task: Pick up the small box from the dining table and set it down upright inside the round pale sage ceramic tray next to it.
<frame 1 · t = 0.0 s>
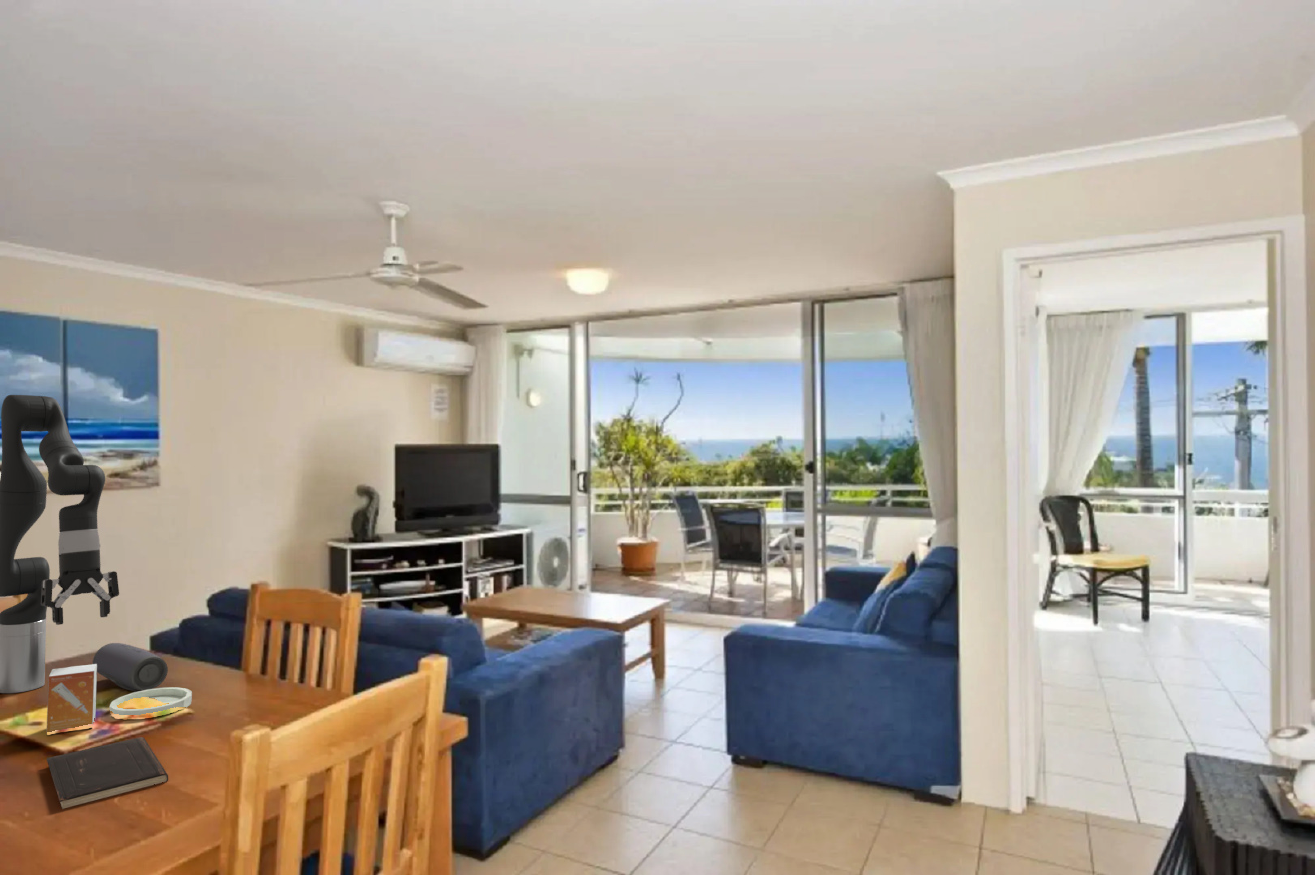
hand: (82, 620, 169), 22 cm above the table, tool pointing down, fingers open, 8 cm apart
round tray: (151, 707, 176), on the table
small box: (71, 729, 163), on the table
bluetooth speaker: (129, 687, 191), on the table
hardcover book: (106, 778, 141), on the table
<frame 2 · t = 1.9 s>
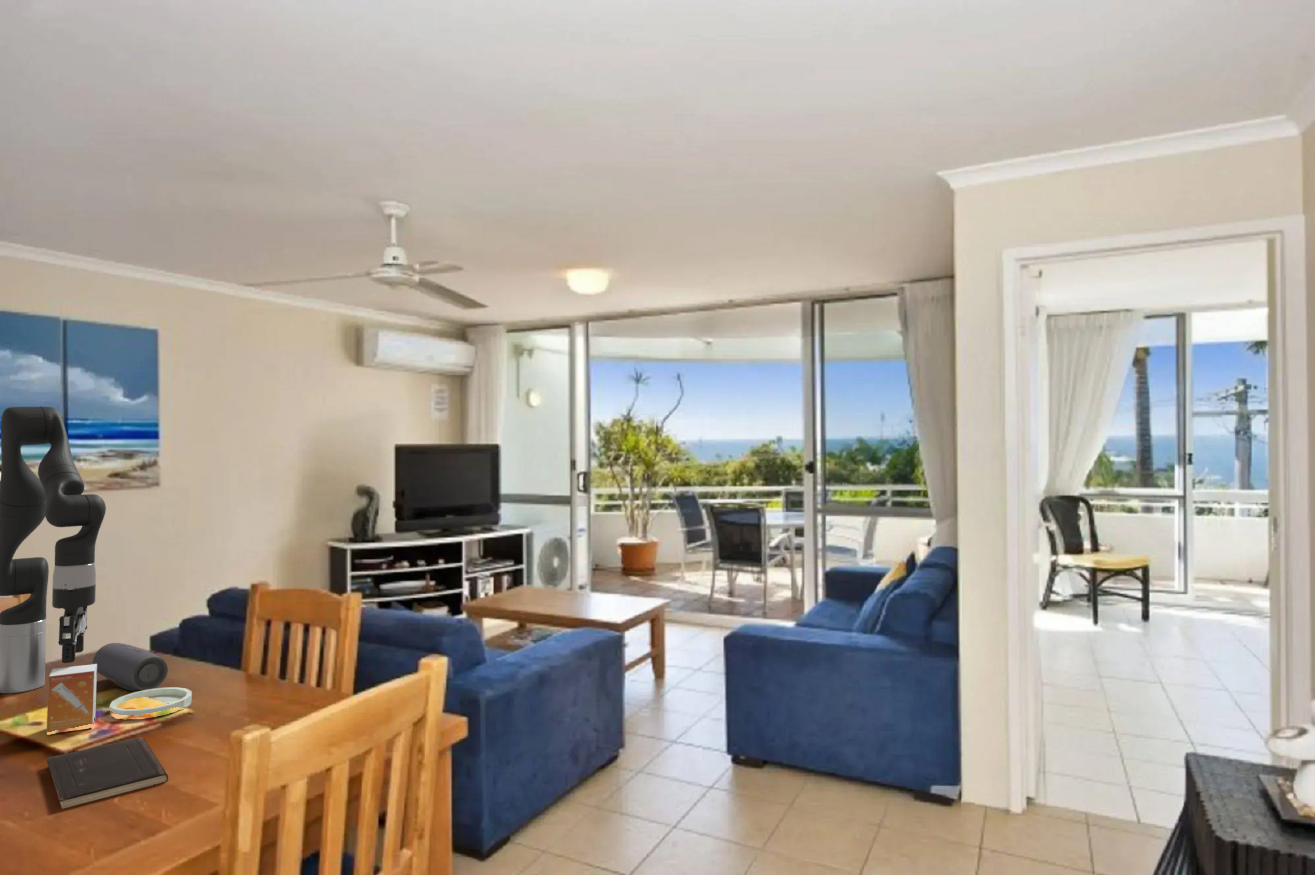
hand: (72, 657, 163), 16 cm above the table, tool pointing down, fingers open, 8 cm apart
nothing on the table moved.
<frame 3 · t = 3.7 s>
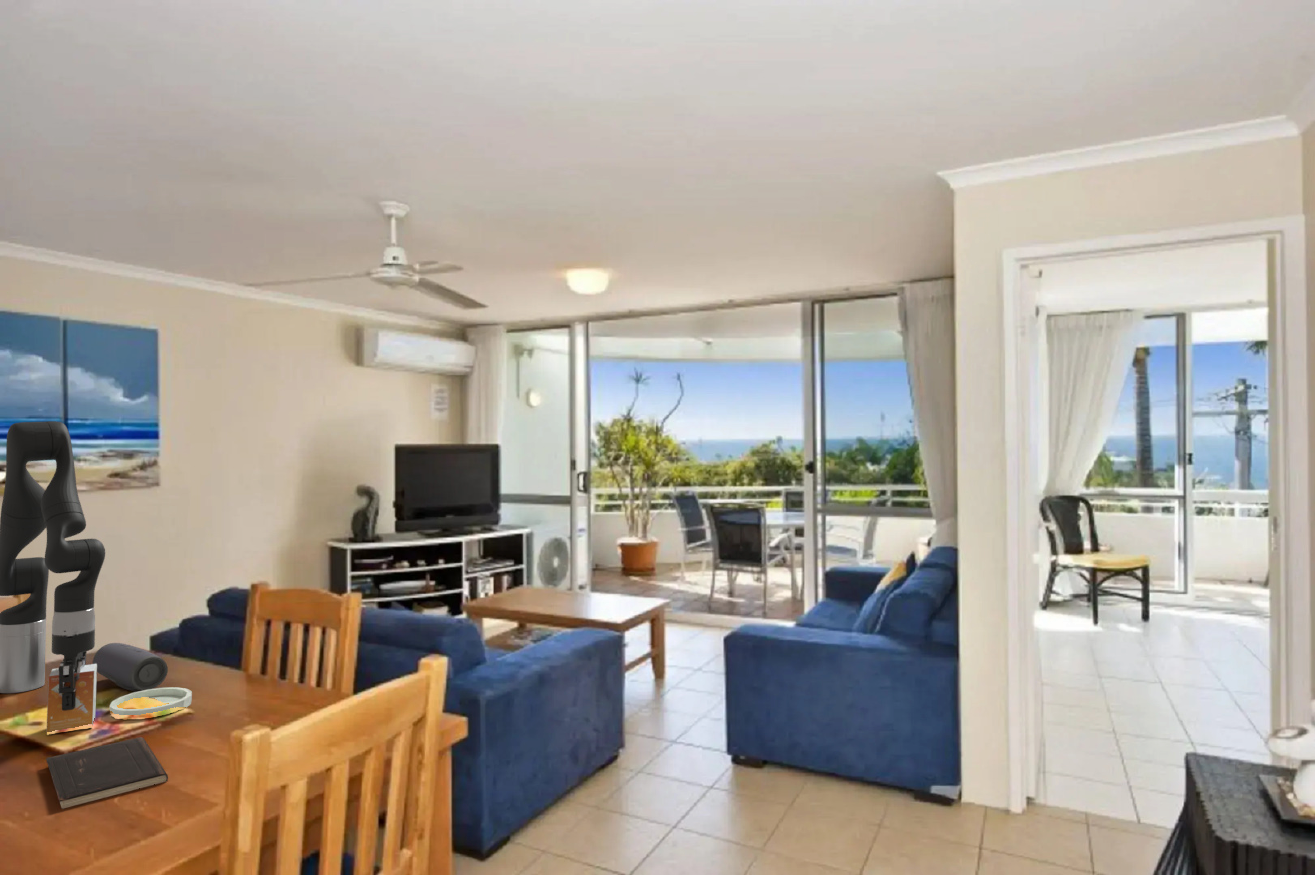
hand: (72, 704, 163), 5 cm above the table, tool pointing down, fingers closed on small box, 6 cm apart
small box: (71, 729, 163), on the table, touching gripper
everything else where it was.
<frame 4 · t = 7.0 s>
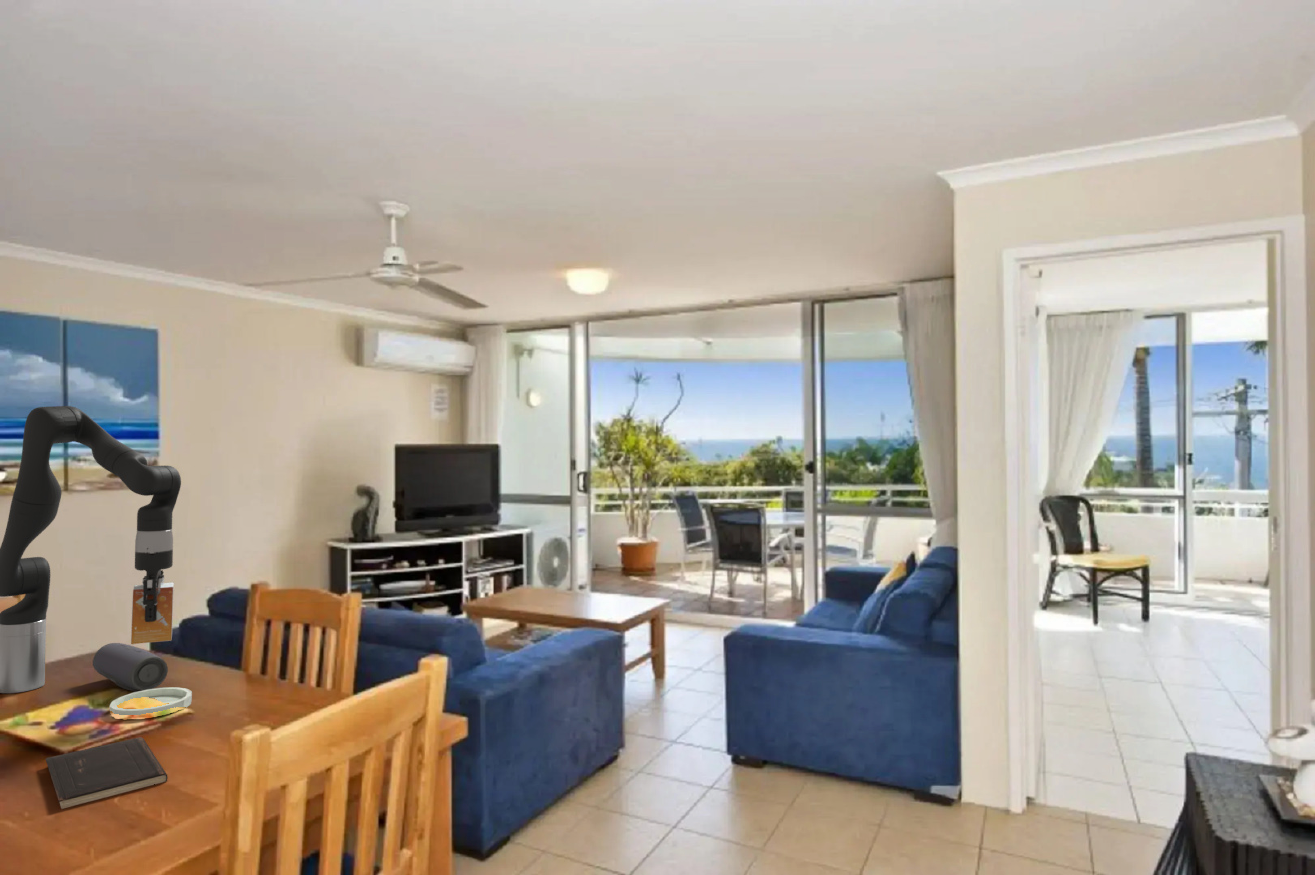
hand: (152, 618, 176), 22 cm above the table, tool pointing down, fingers closed on small box, 6 cm apart
small box: (152, 640, 176), point 16 cm above the table, touching gripper
everything else where it was.
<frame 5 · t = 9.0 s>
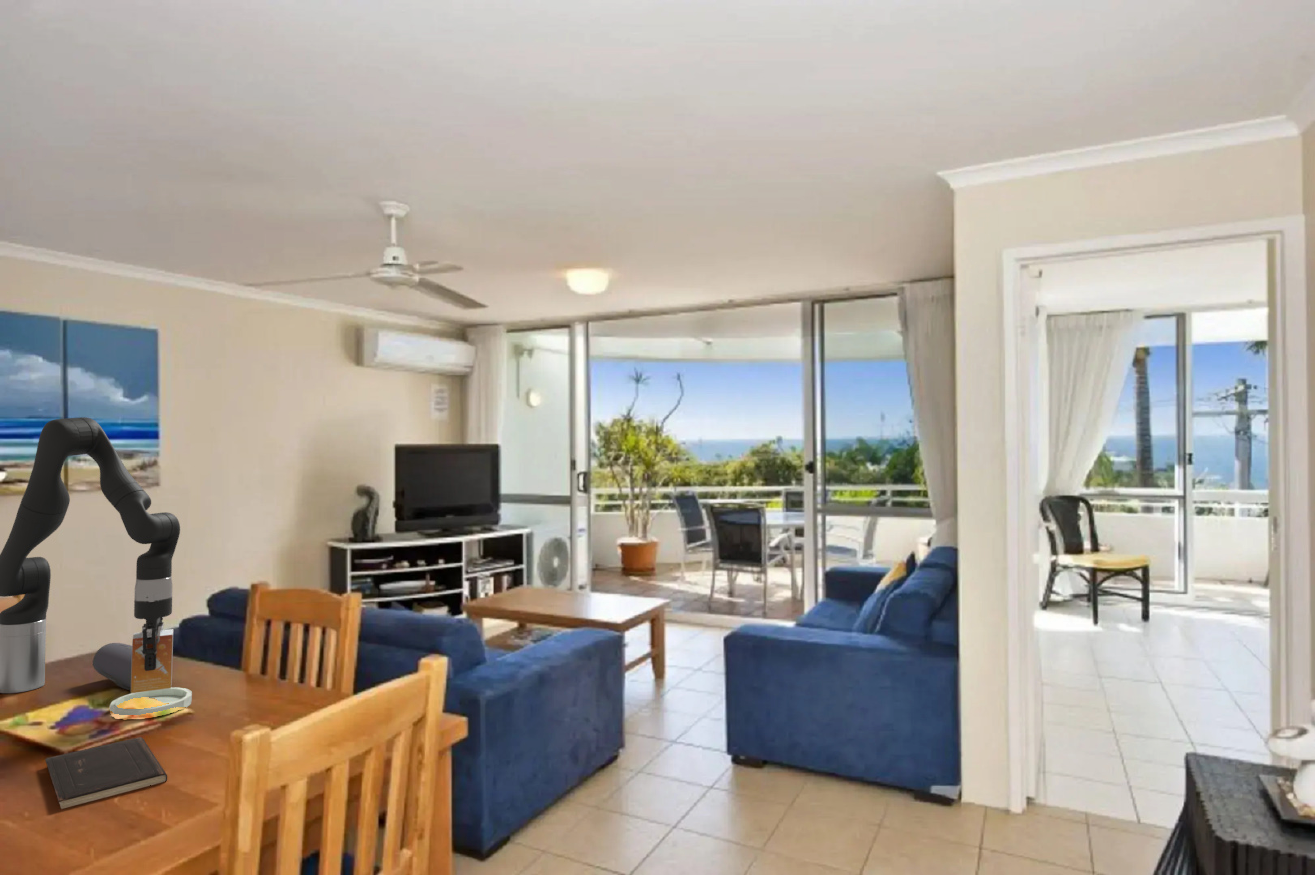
hand: (152, 665, 176), 10 cm above the table, tool pointing down, fingers closed on small box, 6 cm apart
small box: (151, 688, 176), point 5 cm above the table, touching gripper
everything else where it was.
when the fingers open (7 cm above the table, at t = 10.7 s): small box drops 1 cm, resting on round tray.
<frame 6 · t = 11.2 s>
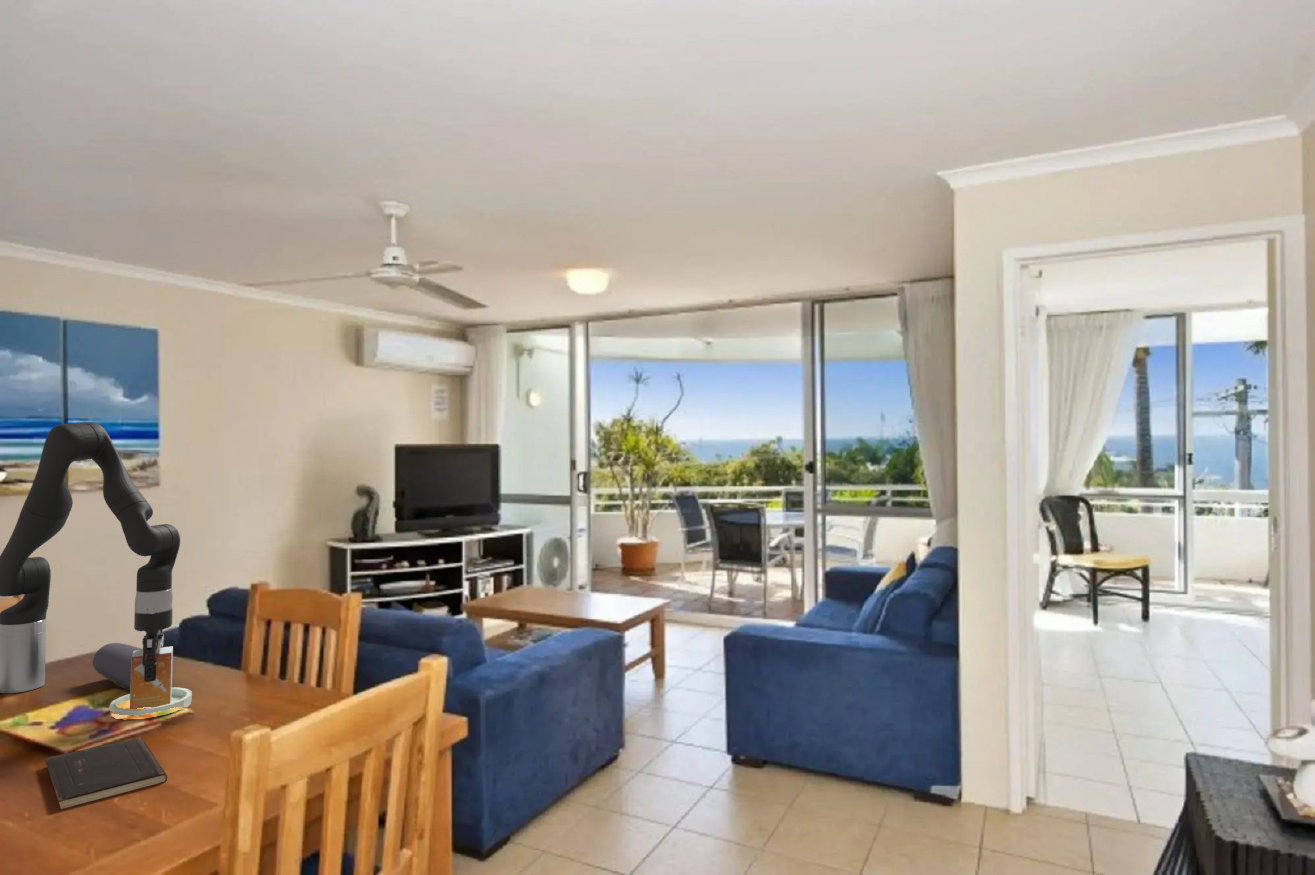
hand: (152, 676, 176), 8 cm above the table, tool pointing down, fingers open, 8 cm apart
small box: (151, 706, 175), resting on round tray
everything else where it was.
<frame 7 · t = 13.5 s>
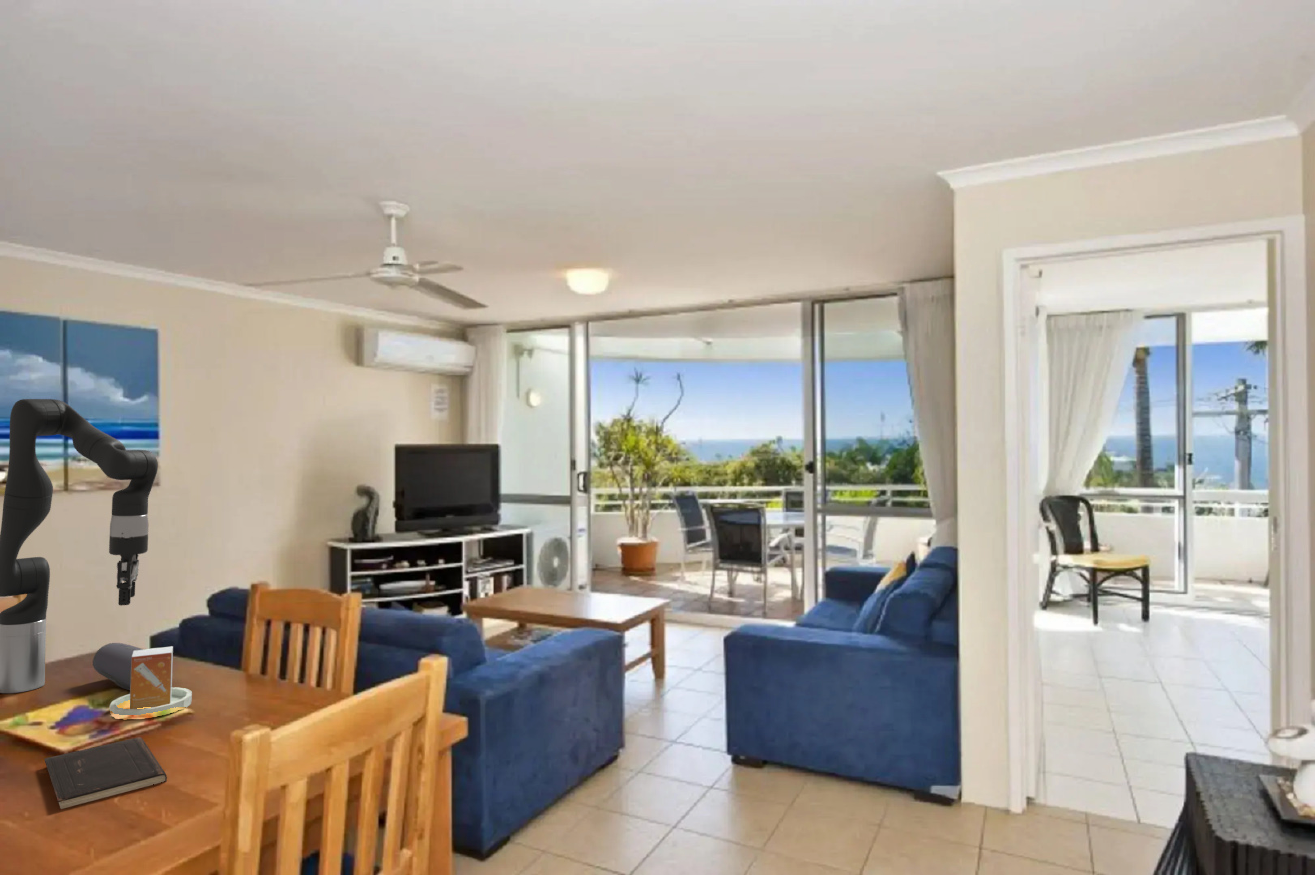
hand: (126, 601, 175), 26 cm above the table, tool pointing down, fingers open, 8 cm apart
nothing on the table moved.
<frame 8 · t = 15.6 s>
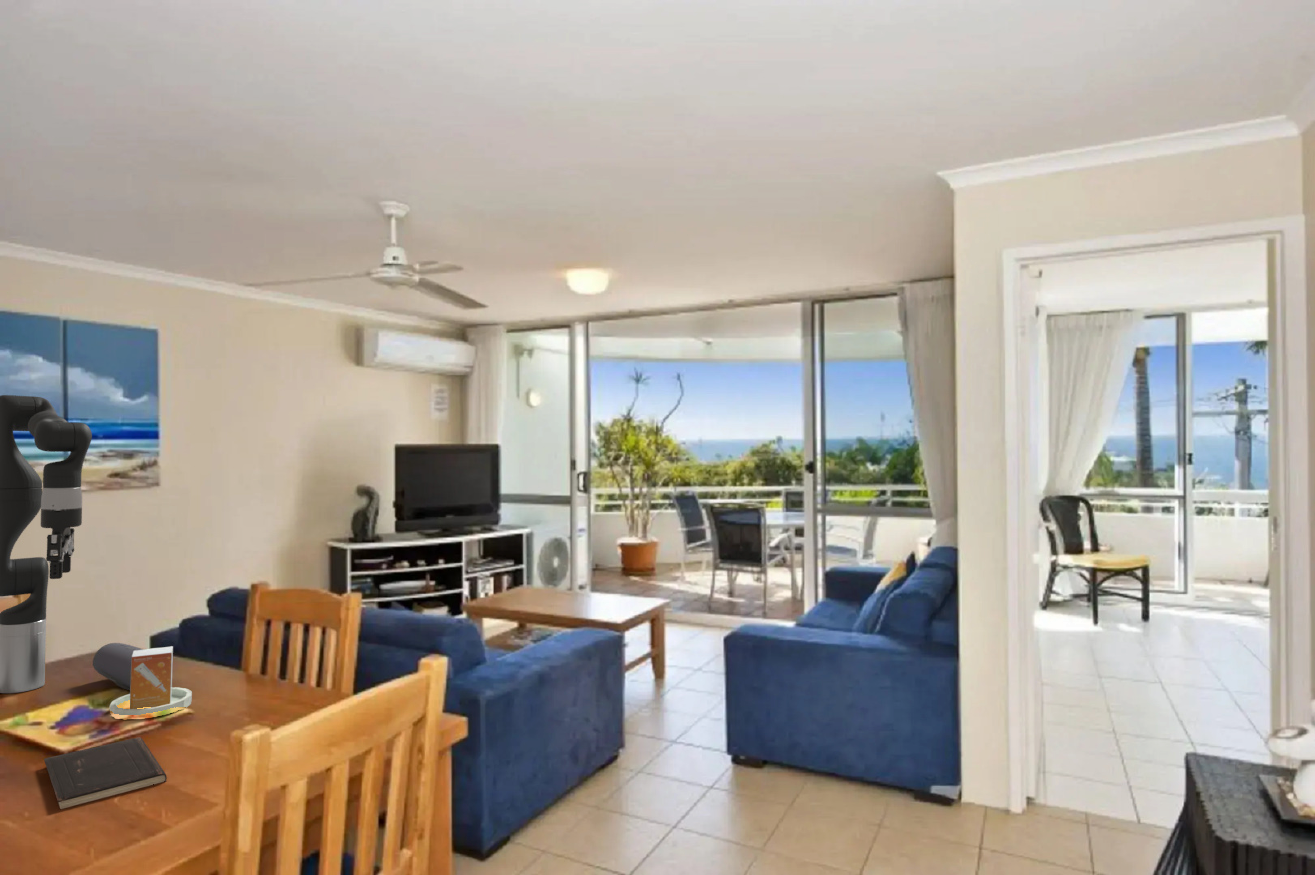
hand: (60, 575, 172), 32 cm above the table, tool pointing down, fingers open, 8 cm apart
nothing on the table moved.
at the end: small box 0.2 cm from the round tray (horizontally); small box tilted 0°; the gripper is holding nothing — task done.
